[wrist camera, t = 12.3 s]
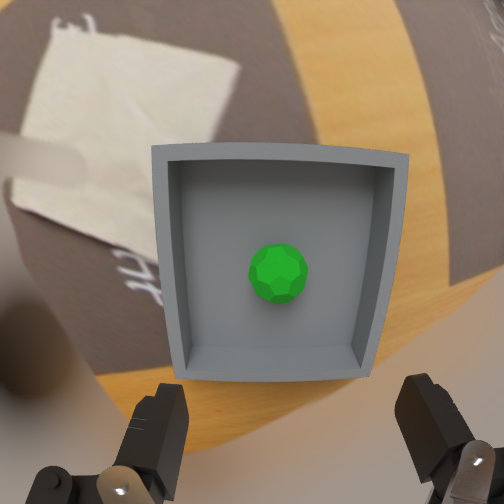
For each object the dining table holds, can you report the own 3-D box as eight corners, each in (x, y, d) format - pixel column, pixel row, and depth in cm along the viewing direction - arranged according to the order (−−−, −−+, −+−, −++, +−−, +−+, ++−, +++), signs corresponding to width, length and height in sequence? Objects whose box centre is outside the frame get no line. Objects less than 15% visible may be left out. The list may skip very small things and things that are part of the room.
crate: (384, 151, 25) (409, 154, 21) (356, 347, 33) (369, 376, 28) (169, 144, 25) (151, 145, 21) (184, 348, 33) (175, 378, 28)
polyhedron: (239, 273, 28) (236, 298, 24) (264, 226, 27) (266, 244, 22) (286, 295, 29) (292, 323, 25) (314, 252, 28) (325, 273, 23)
